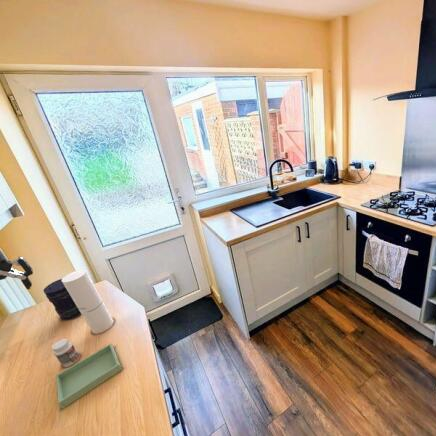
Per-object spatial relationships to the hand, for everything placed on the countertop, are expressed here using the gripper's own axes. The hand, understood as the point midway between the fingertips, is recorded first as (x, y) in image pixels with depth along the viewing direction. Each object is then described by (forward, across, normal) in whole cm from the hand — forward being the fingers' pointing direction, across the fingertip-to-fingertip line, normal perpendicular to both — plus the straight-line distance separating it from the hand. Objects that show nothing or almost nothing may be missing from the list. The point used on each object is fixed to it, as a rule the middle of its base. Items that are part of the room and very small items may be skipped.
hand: (10, 295), depth 76 cm
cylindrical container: (+28, -15, -3) cm, 32 cm away
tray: (+28, -8, +19) cm, 35 cm away
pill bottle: (+28, -4, +7) cm, 29 cm away
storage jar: (+28, -8, -24) cm, 38 cm away
